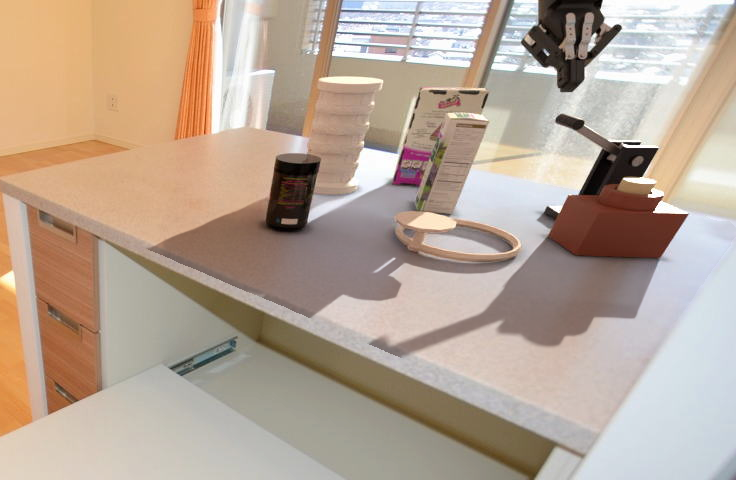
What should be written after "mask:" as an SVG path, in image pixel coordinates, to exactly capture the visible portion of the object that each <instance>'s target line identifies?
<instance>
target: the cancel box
mask: <svg viewBox="0 0 736 480" xmlns="http://www.w3.org/2000/svg"><path fill="white" fill-rule="evenodd" d="M618 186H619V184H610V185H605V186H604V188H603V190H602V191H601V193H600V195H578V194H568V195H567V197H566V199H565V200H564V203H563V205H562V206H563V207H562V209H561V211H560V212H559V214H558V216H557V218H556V220H554V222H553V224H552V227H551V228H550V230H549V232H548V234H547V237H548V238H550V239H551V240H552V241H554V242H555V243H557V244H558V245H560V246H561V247H562V248H564V249H565V250H567V251H568V252H569V253H571V254H573V255H574V256H581V257H583V256H585V257H586V256H587V257H612V258H613V257H614V258H615V257H616V258H643V259H661V258H662V256H663V255H664V253H665V251H666V250H667V248H668V247H669V245H670V244H671V243H672V241H673V240H674V238H675V236H676V235H677V233H678V232H679V230H680V229H681V227H682V226H683V224H684V222H685V221H686V220H687V218H688V216H689V215H690V213H689V212H686V211H684V210H681V209H679V208H678V207H675V206H673V205H671V204H668V203H666V202H664V201H662V200H663V198H664V197H665V194H664V191H662V190H658V189H656V188H653V189H652V191H651V192H650V194H649V195H638V194H631V193H625V192H621V191H618V190H617V188H618Z"/></svg>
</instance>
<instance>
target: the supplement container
mask: <svg viewBox="0 0 736 480" xmlns="http://www.w3.org/2000/svg"><path fill="white" fill-rule="evenodd" d="M320 163H321V158H320V157H318V156H315V155H310V154H307V153H299V152H298V153H297V152H291V153H290V152H287V153H281V154H277V155H276V156H275V161H274V167H273V173H272V178H271V186H270V190H269V196H268V201H267V208H266V213H265V220H264V222H265V225H266V227H267V228H269V229H270V230H273V231H275V232H281V233H296V232H299V231H302V230H304V228H306V227H307V225H308V222H309V216H310V213H311V212H310V211H311V208H312V202H313V198H314V194H315V193H314V189H315V185H316V180H317V176H318V172H319V168H320Z"/></svg>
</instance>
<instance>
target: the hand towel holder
mask: <svg viewBox="0 0 736 480" xmlns="http://www.w3.org/2000/svg"><path fill="white" fill-rule="evenodd" d="M394 220H395V222H396V223H397V224H398V226H396V229H395V234H396V237H397V240H399V241H400V243H402V244H403V245H405V246H406V247H407V248H408V250H409V251H410V252H414V253H419V252H420V253H423V254H425V255H429V256H433V257H436V258H441V259H445V260H452V261H457V262H467V263H497V262H506V261H508V260H511V259H513V258H514V257H516V256H517V255H518V254H520V253H521V252H522V242H521V241H520V239H519V238H518V237H517V236H515V235H514V234H512V233H510V232H509V231H507V230H504V229H501V228H499V227H496V226H493V225H490V224H486V223H484V222H483V223H482V222H478V221H473V220H469V219H463V218H462V219H460V218H453V217H449V216H447V215H443V214H440V213H433V212H420V211H417V210H408V211H404V212H403V211H402V212H397V213H396V214H395V216H394ZM457 227H458V228H464V229H469V230H473V231H478V232H482V233H485V234H487V235H491V236H494V237H496V238H498V239H501V240H503V241H505V242H506V243H508V244H510V245H511V247H512V249H511V250H508V251H505V252H498V253H470V252H461V251H455V250H449V249H444V248H440V247H435V246H432V245H429V244H426V243H424V241H425V238H426V236H427V233H432V234H439V233H447V232H451V231H452V230H453V229H455V228H457ZM405 229H408V230H412V231H414V234H413V237H410V236H408V235H407V234H406V233H405V232H404V230H405Z"/></svg>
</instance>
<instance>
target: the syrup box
mask: <svg viewBox="0 0 736 480" xmlns="http://www.w3.org/2000/svg"><path fill="white" fill-rule="evenodd" d="M489 123H490V120H488V119H487V118H486V117H485V116H484V115H483V114H481V115H478V114H472V113H446V115H445V118H444V120H443V123H442V126H441V129H440V132H439V134H438V137H437V140H436V143H435V145H434V148H433V151H432V153H431V156H430V159H429V162H428V164H427V167H426V170H425V173H424V176H423V178H422V181H421V184H420V187H418V190H417V192H416V193H417V194H416V196H415V199H414V205H415V208H416V211H418V212H430V213H435V214H450V215H451V214H454V211H455V209H456V207H457V203H458V201H459V198H460V196H461V193H462V191H463V189H464V186H465V184H466V181H467V180H468V179H467V178H468V176H469V173H470V171H471V169H472V167H473V164H474V161H475V158H476V156H477V154H478V151H479V149H480V146H481V144H482V142H483V139H484V136H485V134H486V132H487V129H488V126H489Z"/></svg>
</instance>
